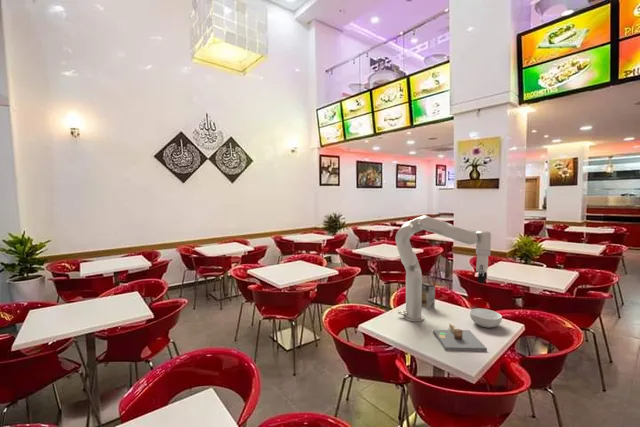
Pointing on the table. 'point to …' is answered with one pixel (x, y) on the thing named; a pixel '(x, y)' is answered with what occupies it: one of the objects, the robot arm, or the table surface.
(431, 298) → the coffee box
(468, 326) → the table surface
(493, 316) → the cereal bowl
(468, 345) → the grey flat square slab
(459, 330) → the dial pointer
